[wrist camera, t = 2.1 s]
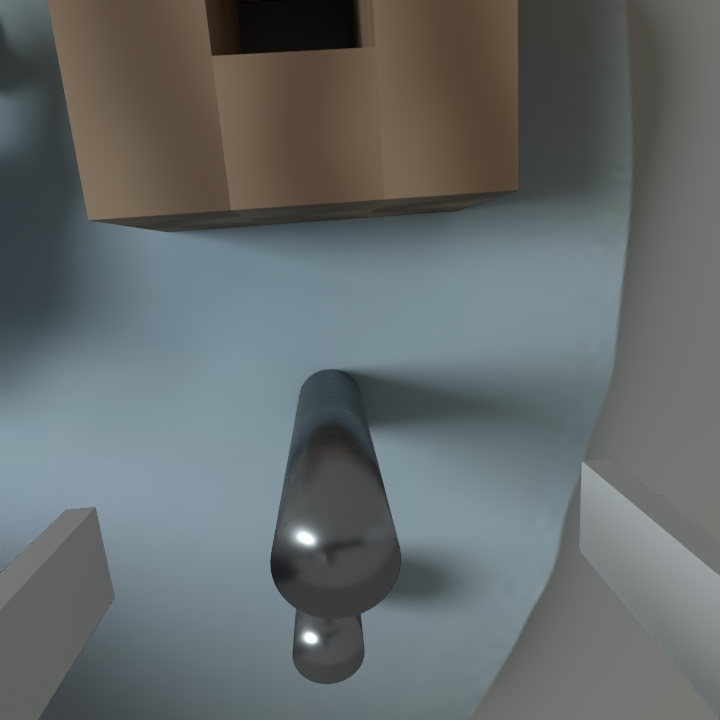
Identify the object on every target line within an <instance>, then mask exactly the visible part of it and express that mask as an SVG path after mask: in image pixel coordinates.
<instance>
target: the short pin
mask: <svg viewBox="0 0 720 720" xmlns="http://www.w3.org/2000/svg"><path fill="white" fill-rule="evenodd" d="M363 658H364V642H363V632H362V622H361V614H358V615H355V616H352V617H347V618H341V619H325V618H319V617H315V616H312V615H309V614H306V613H304V612H302V611H300V610H298V609H297V608H296V617H295V630H294V643H293V661H294V664H295V667H296V668H297V670H298V671H299V673H300V674H301V675H303V676H304V677H305V678H307V679H309V680H311V681H313V682H316V683H321V684H332V683H337V682H341V681H343V680H345V679H347V678H349V677H350V676H352V675H353V674H354V673H355V672H356V671H357V670H358V669H359V667H360V666H361V664H362V661H363Z"/></svg>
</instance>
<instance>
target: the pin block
mask: <svg viewBox="0 0 720 720" xmlns="http://www.w3.org/2000/svg"><path fill="white" fill-rule="evenodd" d="M251 1H272V0H47V2H48V7H49V13H50V18H51V23H52V29H53V34H54V40H55V45H56V50H57V56H58V61H59V67H60V72H61V77H62V83H63V88H64V94H65V99H66V104H67V110H68V115H69V120H70V126H71V131H72V137H73V142H74V147H75V153H76V158H77V164H78V169H79V174H80V180H81V185H82V190H83V196H84V201H85V207H86V212H87V217H88V220H89V221H96V222H103V223H110V224H116V225H123V226H130V227H137V228H143V229H150V230H157V231H164V232H173V231H187V230H201V229H215V228H229V227H242V226H256V225H270V224H284V223H298V222H312V221H325V220H339V219H353V218H367V217H381V216H395V215H408V214H422V213H436V212H450V211H458V210H461V209H464V208H467V207H470V206H473V205H476V204H479V203H482V202H484V201H487V200H490V199H493V198H496V197H499V196H502V195H505V194H508V193H511V192H514V191H517V190H519V114H518V0H350V9H351V23H352V38H353V48H350V49H331V50H313V51H294V52H275V53H257V54H242V46H241V37H240V28H239V20H238V11H237V2H251Z"/></svg>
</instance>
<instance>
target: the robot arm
mask: <svg viewBox="0 0 720 720" xmlns="http://www.w3.org/2000/svg"><path fill="white" fill-rule="evenodd" d="M580 514H581V515H580V552H581V553H582V554H583V555H584V556H585V558H586V559H587V560H588V561H589V562H590V564H591V565H592V566H593V567H594V568H595V570H596V571H597V572H598V573H599V574H600V576H601V577H602V578H603V579H604V580H605V582H606V583H607V584H608V585H609V586H610V588H611V589H612V590H613V591H614V592H615V594H616V595H617V596H618V597H619V598H620V600H621V601H622V602H623V603H624V604H625V606H626V607H627V608H628V609H629V610H630V612H631V613H632V614H633V615H634V616H635V618H636V619H637V620H638V621H639V622H640V624H641V625H642V626H643V627H644V628H645V630H646V631H647V632H648V633H649V634H650V636H651V637H652V638H653V639H654V641H655V642H656V643H657V644H658V645H659V647H660V648H661V649H662V650H663V651H664V653H665V654H666V655H667V656H668V657H669V659H670V660H671V661H672V662H673V663H674V665H675V666H676V667H677V668H678V669H679V671H680V672H681V673H682V674H683V675H684V677H685V678H686V679H687V680H688V681H689V683H690V684H691V685H692V686H693V687H694V689H695V690H696V691H697V692H698V693H699V695H700V696H701V697H702V698H703V699H704V701H705V702H706V703H707V704H708V705H709V707H710V708H711V709H712V710H713V711H714V713H715V714H716V715H717V716H718V717H719V719H720V541H719V540H718V539H717V538H715V537H714V536H713V535H711V534H710V533H709V532H707V531H706V530H705V529H703V528H702V527H701V526H699V525H698V524H696V523H695V522H694V521H692V520H691V519H690V518H688V517H687V516H686V515H684V514H683V513H682V512H680V511H679V510H678V509H676V508H675V507H674V506H672V505H671V504H670V503H668V502H667V501H666V500H664V499H663V498H662V497H660V496H659V495H658V494H656V493H655V492H653V491H652V490H651V489H649V488H648V487H647V486H645V485H644V484H642V483H641V482H640V481H639V480H637V479H636V478H635V477H633V476H632V475H630V474H629V473H628V472H626V471H625V470H624V469H622V468H621V467H620V466H618V465H617V464H616V463H614V462H613V461H611V460H610V459H600V460H589V461H582V474H581V512H580ZM114 598H115V597H114V592H113V588H112V583H111V578H110V573H109V569H108V564H107V559H106V554H105V550H104V545H103V540H102V535H101V531H100V526H99V521H98V516H97V512H96V507H91V508H80V509H70V510H65V511H64V512H63V513H62V514H61V515H60V516H59V517H58V518H57V519H56V520H55V521H54V522H53V523H52V524H51V525H50V526H49V527H48V528H47V529H46V530H45V531H44V532H43V533H42V534H41V535H40V536H39V537H38V538H36V539H35V540H34V541H33V542H32V543H31V544H30V545H29V546H28V547H27V548H26V549H25V550H24V551H23V552H22V553H21V554H20V555H19V556H18V557H17V558H16V559H15V560H14V561H13V562H12V563H11V564H10V565H9V566H8V567H7V568H6V569H5V570H4V571H2V572H1V573H0V720H38V719H39V717H40V716H41V714H42V713H43V711H44V709H45V708H46V706H47V705H48V703H49V702H50V700H51V698H52V697H53V695H54V694H55V692H56V690H57V689H58V687H59V686H60V684H61V682H62V681H63V679H64V678H65V676H66V674H67V673H68V671H69V670H70V668H71V666H72V665H73V663H74V662H75V660H76V658H77V657H78V655H79V654H80V652H81V651H82V649H83V647H84V646H85V644H86V643H87V641H88V639H89V638H90V636H91V635H92V633H93V631H94V630H95V628H96V627H97V625H98V623H99V622H100V620H101V619H102V617H103V615H104V614H105V612H106V611H107V609H108V607H109V606H110V604H111V603H112V601H113V600H114Z"/></svg>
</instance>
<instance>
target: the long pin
mask: <svg viewBox="0 0 720 720" xmlns="http://www.w3.org/2000/svg"><path fill="white" fill-rule="evenodd" d="M270 563H271V573H272V577H273V580H274V583H275V585H276V587H277V589H278V591H279V592H280V593H281V595H282V596H283V597H284V598H285V599H286V600H287V601H288V602H289V603H290V604H291V605H292V606H294V607H295V608H297V609H298V610H300V611H302V612H304V613H306V614H309V615H312V616H315V617H319V618H325V619H341V618H347V617H352V616H355V615H358V614H361V613H363V612H365V611H367V610H369V609H371V608H373V607H374V606H375V605H377V604H378V603H379V602H380V601H381V600H383V599H384V598H385V597H386V595H387V594H388V593H389V592H390V590H391V589H392V587H393V586H394V584H395V582H396V580H397V577H398V574H399V571H400V565H401V552H400V546H399V542H398V539H397V535H396V531H395V527H394V523H393V519H392V515H391V511H390V508H389V504H388V500H387V496H386V492H385V488H384V484H383V481H382V477H381V473H380V469H379V465H378V461H377V457H376V454H375V450H374V446H373V442H372V438H371V434H370V430H369V427H368V423H367V419H366V415H365V411H364V407H363V403H362V399H361V396H360V392H359V389H358V386H357V384H356V383H355V381H354V380H353V379H352V378H351V377H350V376H348V375H347V374H345V373H343V372H341V371H338V370H332V369H330V370H322V371H319V372H316V373H315V374H313V375H311V376H310V377H309V378H308V379H307V380H306V381H305V382H304V384H303V386H302V388H301V390H300V394H299V400H298V406H297V411H296V417H295V423H294V428H293V434H292V440H291V445H290V451H289V456H288V462H287V468H286V473H285V479H284V485H283V490H282V496H281V502H280V507H279V513H278V518H277V524H276V530H275V535H274V541H273V547H272V552H271V561H270Z"/></svg>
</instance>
